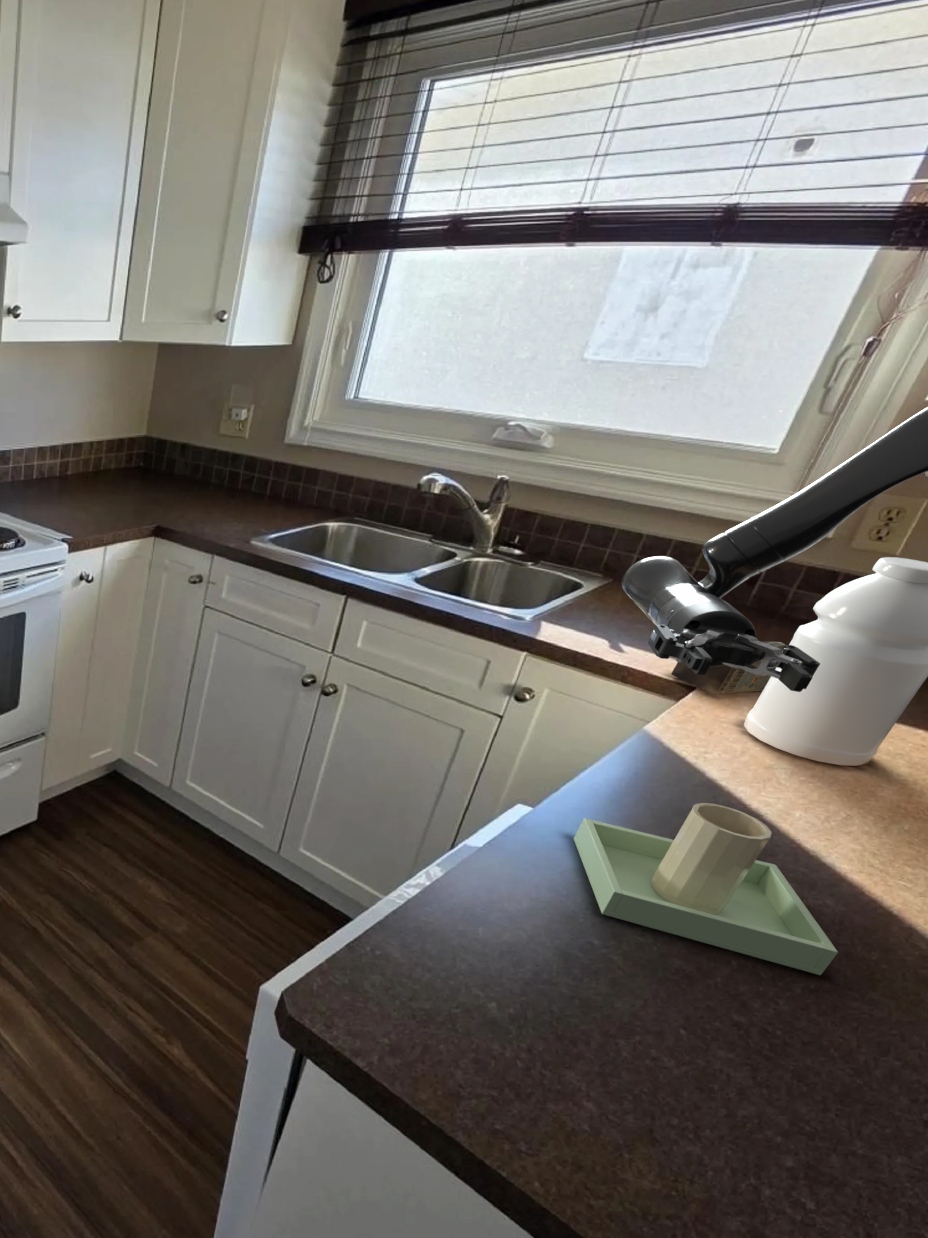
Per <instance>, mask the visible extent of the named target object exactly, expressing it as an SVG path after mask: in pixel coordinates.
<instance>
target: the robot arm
mask: <svg viewBox="0 0 928 1238" xmlns="http://www.w3.org/2000/svg"><path fill="white" fill-rule="evenodd" d="M922 474H923V475H924V477H925V478H926V479H928V406H927V407H925V408H924V409H922V410H920V411H919V412H917V413H915V414H914V415H912V416H911V417H909V418H908V419H906V420H905V421H903V422H901V423H900V424H899V425H897V426H895V427H894V428H893V429H891V430H890V431H888V432H887V433H885V434H884V435H882V436H881V437H879V438H878V439H876V440H875V441H874V442H873V443H871V444H870V445H868V446H866V447H865V448H863V449H862V450H860V451H859V452H858V453H856V454H854V455H853V456H852V457H850V458H848V459H847V460H846V461H844V462H842V463H841V464H839V465H838V466H836V467H835V468H833V469H832V470H830V471H829V472H827V473H826V474H824V475H823V476H821V477H820V478H818V479H817V480H815V481H813V482H812V483H811V484H809V485H807V486H806V487H804V488H802V489H801V490H800V491H798V492H795V493H794V494H793V495H791V496H789V497H788V498H786V499H784V500H782V501H780V502H778V503H777V504H774V505H773V506H771V507H769V508H768V509H766V510H764V511H762V512H760V513H758V514H756V515H754V516H752V517H750V518H748V519H747V520H744V521H743V522H741V523H738V524H737V525H735V526H732V527H731V528H729V529H728V530H727V529H726V530H725V531H724V532H721V533H719V534H718V535H716V536H714V537H712V538H711V539H708V540H707V541H706V542H705V543H704V544H703V545H702V548H701V551H702V554H703V557H704V559H705V561H706V563H707V564H708V567H709V571H708V573H707V575H705V577H703V579H700V581H697V579H695V578H694V577H693V576H692V575H691V573H690V572H689V571H688V570H687V569H686V568H685V567H684V566H683V564H681V562H680V561H679V560H677V559H675V558H673V557H671V556H666V555H656V556H649V557H646V558H643V559H640V560H639V561H637V562H634V563H633V564H632V565H631V566H630V567H629V568H628V569H627V570H626V571H625V572H624V574H623V576H622V580H621V587H622V590H623V591H624V593H625V594H626V595H627V596H628V597H629V598H630V599H631V601H633V602H634V604H635V605H636V606H637V607H638V608H639V609H640V610H641V611H642V612H643V613H644V614H645V616H646V617H647V618H648V619H649V620H650V621H651V622H652V623H653V624H654V625H655V626H654V629H653V630H652V632H651V635H650V637H649V639H648V641H647V644H648V645H649V647H650V648H651V650H652V652H653V653H654V655H655V656H656V657H658V658H659V659H661V660H669V658H670V657H673V658H676V659H675V661H676V663H677V662H679V663H682V664H685V665H686V666H687V667H688V668H690V669H692V671H693V672H694V673H695V674H699V675H705V674H706V672H707V670H708V668H709V667H718V666H723V665H727V666H729V667H733V668H734V667H738V668H740V669H743V670H745V671H748V672H750V673H753V674H755V675H758V676H760V675H770V676H772V677H775V678H777V679H779V680H780V681H781V682H782V683H783V684H784V685H785V686H786V687H787V688H788V689H790V690H791V691H796V692H801V691H802V690H803V689H806V688H807V686H808V685H809V683H810V681H811V680H812V678H813V675H814V673H815V672H816V670H817V668H818V667H819V665H820V663H819V662H818V661H816V660H815V659H813V658H812V657H810V656H809V655H808V654H806V653H805V652H803V651H802V650H800V649H799V648H797V647H795V646H793V645H789V644H785V646H784V648H783V649H782V650H781V649H779V648H777V647H774V646H771V645H768V644H766V643H763V642H764V641H760V640H759V639H758V638H757V633H756V630H755V626H754V625H753V623H752V622H751V620H750V619H748V618H747V617H746V616H745V615H744V614H742V613H741V611H739V610H738V609H736V608H735V607H734V606H733V605H731V604H730V603H729V602H727V601H726V600H724V599H722V598H723V597H725V596H726V595H727V594H729V593H730V592H732V591H733V590H734V589H736V588H737V587H739V586H740V585H742V584H744V582H746V581H748V580H750V579H752V578H754V577H756V576H757V575H759V574H760V573H763V572H766V571H767V570H770V569H771V568H774V567H776V566H778V565H780V564H782V563H785V562H786V561H788V560H790V559H792V558H794V557H796V556H799V555H800V554H803V553H804V552H806V551H807V550H809V549H811V548H812V547H813V546H815V545H817V544H818V543H819V542H821V541H822V540H823V539H825V538H826V537H827V536H829V535H831V533H833V531H835V530H836V529H837V528H838V527H839V526H841V525H842V524H843V523H844V522H845V521H846V520H848V519H849V518H850V517H851V516H852V515H854V514H855V513H856V512H857V511H859V510H860V509H861V508H863V506H865V505H866V504H868V503H870V502H871V501H872V500H874V499H875V498H877V497H878V496H880V495H882V494H883V493H885V492H887V491H888V490H891V489H893V488H894V487H896V486H898V485H900V484H902V483H904V482H906V481H908V480H910V479H912V478H915V477H917V476H920V475H922ZM759 661H761V663H760V665H759V667H756V666H753V665H752V664H754V663H757V662H759ZM774 666H775V667H777V668H781V669H782V670H781V672H779V671H777V670H775V669H774Z"/></svg>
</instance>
